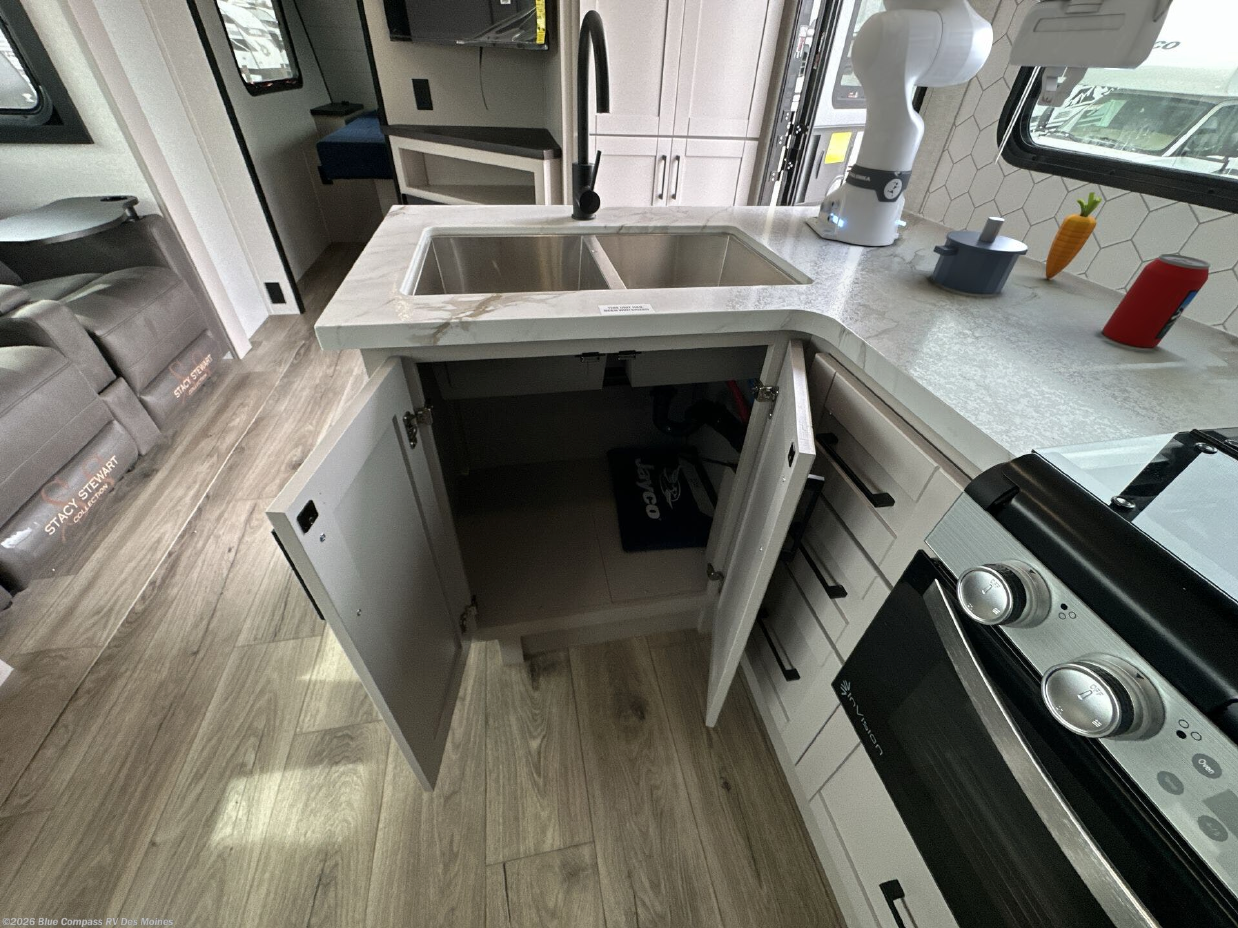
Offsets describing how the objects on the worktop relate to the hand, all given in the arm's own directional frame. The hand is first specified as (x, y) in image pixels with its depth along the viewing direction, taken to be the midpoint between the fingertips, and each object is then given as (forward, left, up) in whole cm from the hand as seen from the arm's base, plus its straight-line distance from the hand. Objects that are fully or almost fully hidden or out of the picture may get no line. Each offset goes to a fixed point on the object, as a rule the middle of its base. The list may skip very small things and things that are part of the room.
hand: (1048, 106), depth 77 cm
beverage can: (+24, +9, -27) cm, 37 cm away
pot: (0, 0, -27) cm, 27 cm away
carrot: (-3, +21, -27) cm, 35 cm away
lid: (0, 0, -20) cm, 20 cm away
